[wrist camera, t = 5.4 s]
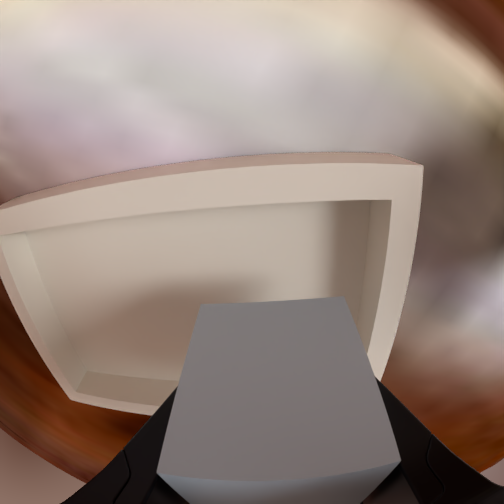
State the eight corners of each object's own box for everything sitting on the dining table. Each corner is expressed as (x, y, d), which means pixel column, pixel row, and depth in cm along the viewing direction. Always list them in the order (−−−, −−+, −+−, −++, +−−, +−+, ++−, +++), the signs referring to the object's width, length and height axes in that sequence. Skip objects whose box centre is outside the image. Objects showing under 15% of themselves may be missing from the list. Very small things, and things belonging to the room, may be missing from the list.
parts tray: (358, 372, 14) (369, 409, 11) (86, 370, 15) (70, 399, 12) (388, 153, 9) (423, 165, 7) (15, 197, 10) (-20, 216, 8)
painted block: (331, 385, 9) (352, 509, 5) (221, 390, 10) (206, 516, 5) (343, 296, 8) (400, 460, 3) (200, 303, 8) (156, 472, 3)
